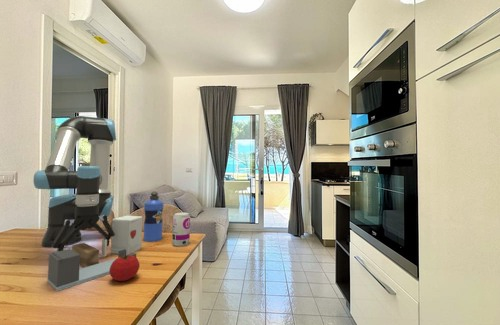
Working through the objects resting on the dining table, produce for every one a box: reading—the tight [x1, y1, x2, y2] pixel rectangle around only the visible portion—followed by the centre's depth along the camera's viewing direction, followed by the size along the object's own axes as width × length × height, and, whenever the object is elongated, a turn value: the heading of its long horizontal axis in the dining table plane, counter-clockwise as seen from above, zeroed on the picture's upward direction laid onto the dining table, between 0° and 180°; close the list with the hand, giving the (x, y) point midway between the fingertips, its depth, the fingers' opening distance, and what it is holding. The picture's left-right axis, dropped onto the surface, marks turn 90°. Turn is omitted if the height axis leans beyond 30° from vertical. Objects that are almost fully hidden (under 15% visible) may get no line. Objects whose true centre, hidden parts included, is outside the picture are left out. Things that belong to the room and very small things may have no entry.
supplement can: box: [171, 211, 191, 247], centre depth 112 cm, size 8×8×15 cm
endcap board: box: [46, 248, 137, 292], centre depth 80 cm, size 10×24×9 cm, turn 145°
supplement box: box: [110, 215, 143, 255], centre depth 101 cm, size 9×9×15 cm
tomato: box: [109, 254, 140, 282], centre depth 76 cm, size 9×9×8 cm
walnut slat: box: [71, 242, 100, 268], centre depth 88 cm, size 4×14×6 cm, turn 56°
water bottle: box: [142, 191, 164, 243], centre depth 119 cm, size 9×9×25 cm
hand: (84, 260), depth 88 cm, fingers open, 13 cm apart
